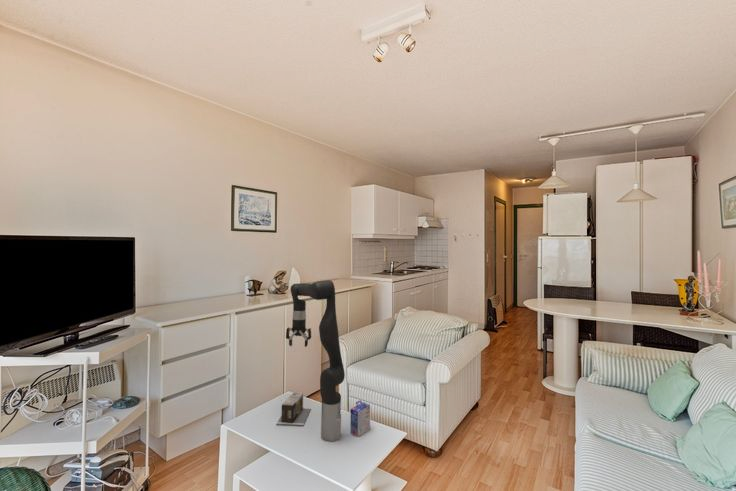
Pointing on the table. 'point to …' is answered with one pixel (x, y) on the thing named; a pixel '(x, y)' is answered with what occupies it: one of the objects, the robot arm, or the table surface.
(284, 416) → the coffee box
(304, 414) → the mat
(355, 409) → the ink cartridge box
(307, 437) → the table surface
